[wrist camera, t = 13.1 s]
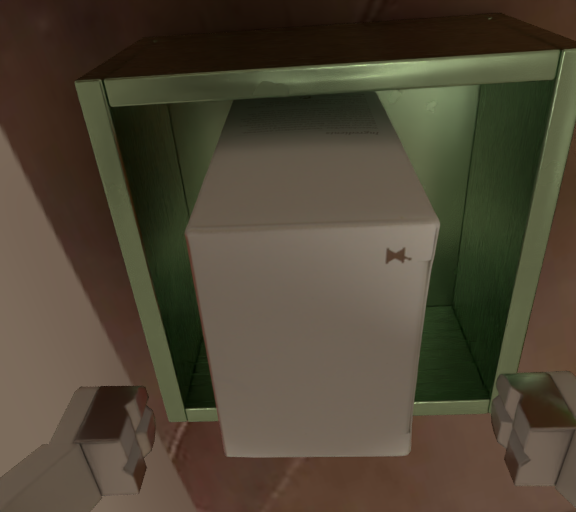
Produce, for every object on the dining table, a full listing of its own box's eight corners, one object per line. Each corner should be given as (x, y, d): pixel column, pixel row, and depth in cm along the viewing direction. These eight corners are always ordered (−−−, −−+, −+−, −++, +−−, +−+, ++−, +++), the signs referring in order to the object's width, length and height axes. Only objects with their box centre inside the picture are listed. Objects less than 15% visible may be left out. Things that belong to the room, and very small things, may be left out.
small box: (233, 93, 20) (176, 222, 11) (379, 87, 19) (446, 216, 11) (249, 267, 24) (219, 464, 15) (370, 264, 24) (412, 462, 15)
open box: (197, 315, 27) (168, 423, 21) (141, 37, 20) (72, 80, 14) (461, 305, 26) (508, 413, 20) (502, 12, 19) (594, 46, 13)
